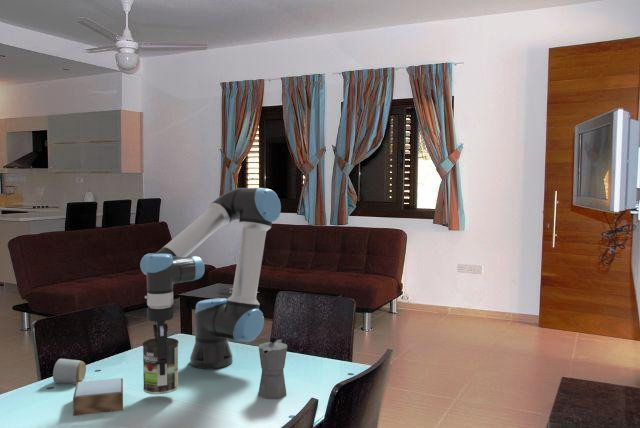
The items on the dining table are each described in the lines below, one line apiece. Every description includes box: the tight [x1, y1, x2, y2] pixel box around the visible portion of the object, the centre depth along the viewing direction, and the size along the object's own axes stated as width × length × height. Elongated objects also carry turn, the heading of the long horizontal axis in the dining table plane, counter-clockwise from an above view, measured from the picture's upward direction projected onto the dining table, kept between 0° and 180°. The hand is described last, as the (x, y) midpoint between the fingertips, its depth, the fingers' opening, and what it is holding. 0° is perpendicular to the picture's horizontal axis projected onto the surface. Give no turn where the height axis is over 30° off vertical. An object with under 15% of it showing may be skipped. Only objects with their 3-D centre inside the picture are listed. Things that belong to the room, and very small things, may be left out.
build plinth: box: [72, 377, 124, 416], centre depth 164 cm, size 13×13×5 cm
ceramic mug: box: [52, 358, 87, 384], centre depth 184 cm, size 11×8×8 cm
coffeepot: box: [258, 336, 288, 400], centre depth 175 cm, size 15×9×18 cm, turn 162°
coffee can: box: [142, 337, 179, 395], centre depth 169 cm, size 10×10×14 cm
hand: (161, 379), depth 169 cm, fingers closed on coffee can, 10 cm apart
